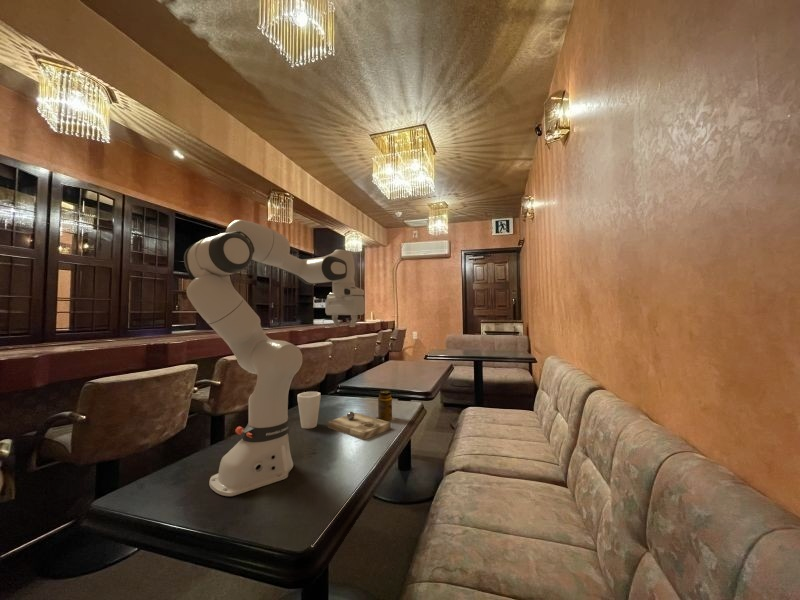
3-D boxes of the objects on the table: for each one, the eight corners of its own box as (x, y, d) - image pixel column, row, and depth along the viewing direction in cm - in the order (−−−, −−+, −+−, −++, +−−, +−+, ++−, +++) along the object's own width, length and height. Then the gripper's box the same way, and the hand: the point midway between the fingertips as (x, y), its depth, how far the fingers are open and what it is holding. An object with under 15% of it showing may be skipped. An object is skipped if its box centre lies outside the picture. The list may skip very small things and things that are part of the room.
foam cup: (293, 425, 137) (293, 394, 137) (313, 420, 143) (313, 390, 144) (303, 431, 130) (303, 398, 130) (324, 426, 136) (324, 394, 137)
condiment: (396, 419, 144) (395, 391, 144) (381, 424, 138) (381, 395, 138) (385, 415, 149) (384, 389, 149) (370, 420, 143) (370, 392, 144)
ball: (350, 421, 134) (350, 413, 134) (345, 419, 136) (345, 411, 136) (356, 419, 137) (356, 411, 137) (351, 417, 139) (351, 410, 139)
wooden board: (363, 440, 121) (363, 433, 121) (327, 427, 134) (327, 421, 134) (390, 428, 132) (390, 422, 132) (355, 418, 146) (355, 412, 146)
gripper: (321, 292, 133) (321, 326, 133) (354, 290, 120) (355, 327, 120) (333, 293, 138) (334, 325, 138) (367, 290, 125) (368, 326, 125)
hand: (344, 326), depth 129 cm, fingers open, 8 cm apart
